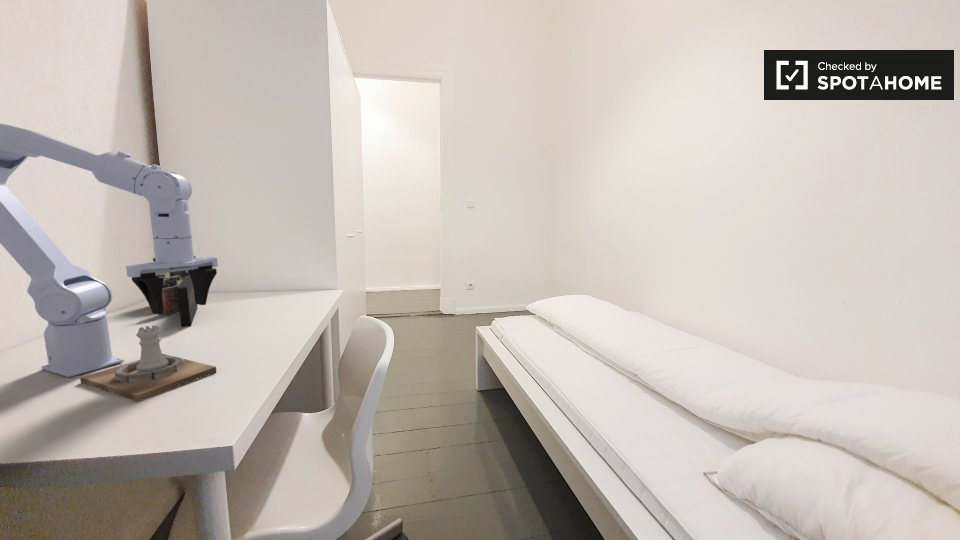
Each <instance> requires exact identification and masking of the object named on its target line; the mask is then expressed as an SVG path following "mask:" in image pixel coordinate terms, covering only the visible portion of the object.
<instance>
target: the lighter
mask: <svg viewBox="0 0 960 540" xmlns="http://www.w3.org/2000/svg"><path fill="white" fill-rule="evenodd" d="M178 280H180V277H179V276H173V277H165V278H164V281H163V287H162V300H163V308H164V309H163V314H158V315H159V317H168V316H172V315H175V314H180V310H179V301H178V291H177V288H178V286H179V285H180V283H179V284H177V282H176V281H178Z"/></svg>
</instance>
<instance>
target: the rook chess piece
mask: <svg viewBox="0 0 960 540" xmlns="http://www.w3.org/2000/svg"><path fill="white" fill-rule="evenodd" d="M144 328H145V329H144ZM161 333H162V331H161V330H160V329H159V327H158V325H152V326H151V328H150V325H147V326H145V327H144V326H142V327H139V328H138V332H137V333H136V334H135V336H136V337H138V338H139V340H140V342H139V346H140V349H141V350H140V359H138V360H139V364H138V365H137V366H136V369H137V370H139V371H138V372H137V373H144V372H152V371H155V370H159V369H162V368H165V367H168V365H167V364H168V363H169V362H168V360H167V359H166V358H165V356H163V354H164V353H163V352H162V349H161V347H160V346H161V345H160V342H161V339H160V338H159V336H160V334H161Z"/></svg>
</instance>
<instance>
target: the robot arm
mask: <svg viewBox="0 0 960 540" xmlns="http://www.w3.org/2000/svg"><path fill="white" fill-rule="evenodd" d="M29 157H31V158H39V157H44V158H47V159H49V160H54V161H56V162H60V163H64V164H65V165H66V164H67V165H70V166H73V167H76V168H79V169H82V170H85V171H89V172H91V173H92V175H93V176H94V178H95V179H96V180H97V181H98V182H100V183H102V184H105V185H109V186H110V187H114V188H116V189H120V190H123V191H126V192H129V193H132V194H135V195H137V196H141V197H144V198H145V199H146V200H147V201H148V203H149V214H150V223H151V231H152V241H153V242H152V244H153V249H154V258H155V260H156V262H154V261H150V262H145V263H139V264H131V265H125V269H126V276H127V277H128V278H131V281H132V282H133V283H134V284H135V286H136V287H137V288H138V289H139V291H140V293H142V295H143V296H144V298H145V300H146V301H147V304H148V305H149V307H150V308H149V309H150V311H151V312H152V314H153V315H154V314H155V315H159V314H163V309H164V308H163V300H162V287H163V281H164V279H163V278H160V277H158V275H157V276H156V274H160V273H168V272H176V271H183V270H189V274H190V277H191V280H192V283H193V287H194V297H195V302H196V304H197V306H206V305H207V300H208V295H209V292H210V288H211V285H212V282H213V280H214V279H215V277H216V276H217V272H218V271H217V270H218V269H217V268H218V266H219V263H218V257H216V256H215V257H214V256H207V257H196V258H194V256H195V255H194V247H193V238H192V236H193V235H192V228H191V227H192V226H191V216H190V210H189V201H188V200H190V198H191V196H192V192H193V191H192V190H193V188H192V185H191V183H190V181H189V180H188V179H187V178H185V177H184V176H182V175H180V174H179V173H178V172H168V171H163V170H162V167H161V165H158V164H154V163H153V164H151V165H150V164H148V163H144V162H142V161H139V160H136V159H133V158H131V157H132V155H131V154H129V153H127V152H124V151H118V152H117V153H116V152H113V151H108V152H104V153H100V154H97V153H95V152H92V151H90V150H87V149H85V148H81V147H79V146H76V145H74V144H72V143H69V142H66V141H64V140H61V139H59V138H56V137H52V136H51V135H48V134H45V133H42V132H40V131H36V130H30V129H27V128H23V127H19V126H15V125H14V126H13V125H10V124H4V123H0V245H2V247H3V248H4V249H5V251H6V252H7V253H8V254H9V255H10V256H11V257H12V258H13V259H14V261H16V263H17V264H18V265H19V266H20V267H21V269H22V270H23V271H24V272H25V273H26V274H27V275H28V276H29V278H30V282H29V284H28V287H27V290H26V292H27V294H28V295H29V296H30V297H31V298H32V300H33V302H34V309H35V311H36V313H37V314H38V316H39V317H41V318H42V319H43V320H45V321H46V322H47V324H48V325H47V326H46V328H45V330H44V333H43V337H44V344H45V350H46V356H47V364H45V365H42V366H41V369H43V370H45V371H47V372H51V373H54V374H57V375H60V376H63V377H66V378H71V377H75V376H77V375H78V376H79V375H82V374H86V373H89V372H92V371H95V370H98V369H102V368H106V367H109V366H114V365H116V364H119V363H123V362H124V360H125V359H124V358H121V357H118V356H117V357H116V356H113V352H112V348H111V347H112V345H111V339H110V331H109V324H108V323H109V322H108V318H107V310H106V309H107V307H108V306H109V305H110V304H111V302H112V300H113V291H112V290H111V288H110V286H109V285H108V284H106V283H105V282H104V281H102V280H99V279H98V278H96V277H94V275H92V274H91V272H89V270H87V269H84V267H82V266H81V267H80V266H78V265H76V264H74V263H72V262H71V261H70V260H69V258H67V256H66V255H65V254H64V253H63V252H62V250H61V249H60V248H59V247H58V246H57V245H56V243H55V242H54V240H52V238H51V237H50V236H49V235H48V233H47V232H46V231H45V230H44V229H43V228H42V227H41V225H40V224H39V223H38V222H37V221H36V219H35V218H34V217H33V216H32V215H31V214H30V212H29V211H28V210H27V209H26V208H25V206H24V205H23V204H22V203H21V202H20V200H19V199H18V198H17V197H16V196H15V195H14V193H13V192H12V191H11V190H10V189H9V188H8V186H7V185H6V183H7V181H8V179H9V178H10V176H11V175H12V174H13V173H14V172H15V171H16V170H17V169H18V168H20V166H21V165H22V164H23V163H24V162H25V161H26V160H27V159H28V158H29ZM186 266H192V267H186ZM175 267H183V268H175ZM168 268H175V269H168Z"/></svg>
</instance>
